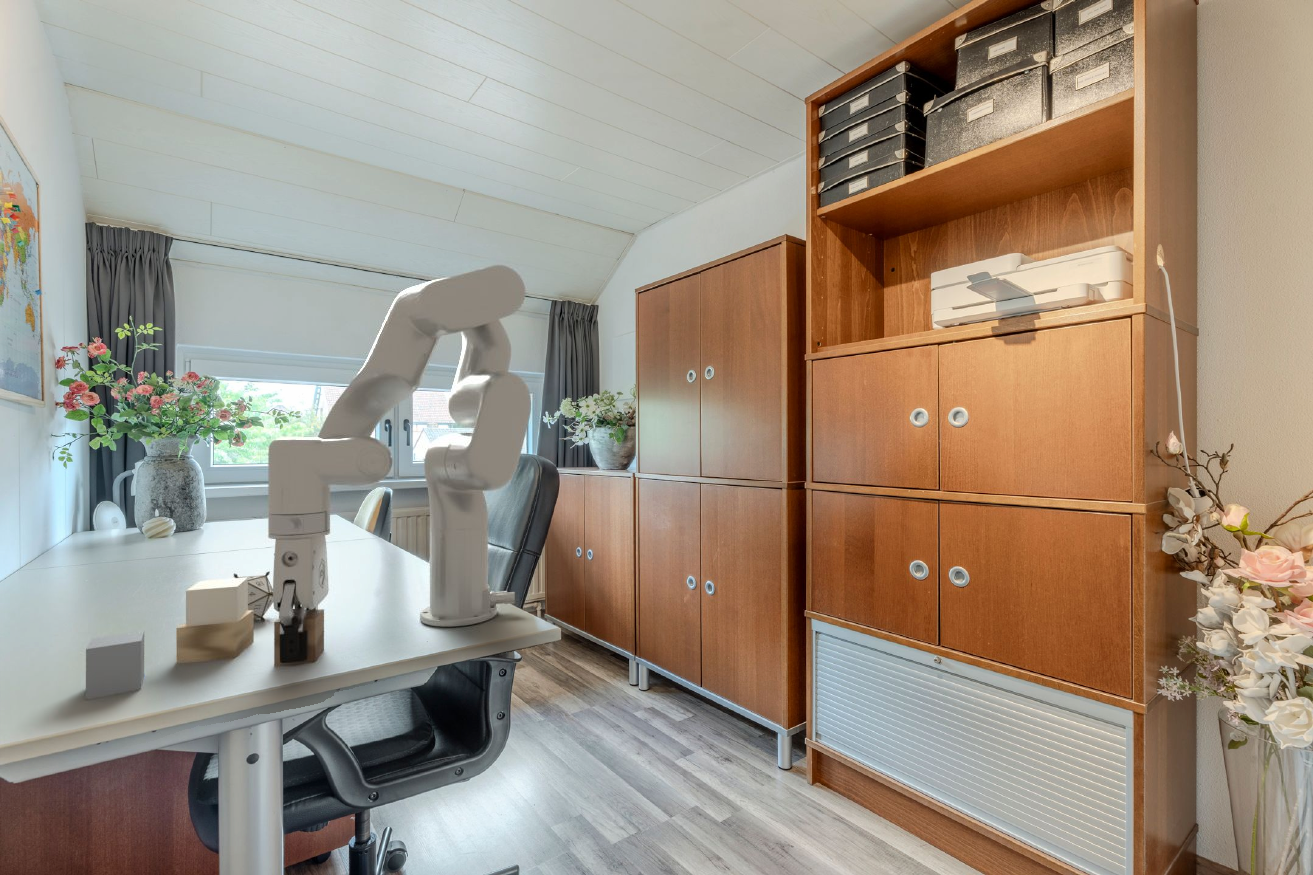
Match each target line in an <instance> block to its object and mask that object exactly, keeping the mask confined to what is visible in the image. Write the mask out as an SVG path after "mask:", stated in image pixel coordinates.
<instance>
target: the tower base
mask: <svg viewBox="0 0 1313 875" xmlns="http://www.w3.org/2000/svg"><path fill="white" fill-rule="evenodd" d="M254 620H255V619H254V610H248V611H247V612H246V613H245V614H244V615H243V616H242V617H241V618H240V620H239V621H238V622H230V623H220V624H209V625H199V626H189V627H186V621H185V622H184V623H182V624H181V625H179V626H177V627H176V635H175V636H176V664H183V663H195V662H206V661H218V660H229V659H236V658H237V657H238V656H240V655H241V654H242V652H243V653H244V652H245V651H246V650H247V649H248V648H249V647H250V646H251V645H253V643H254V640H255V638H254V634H255V632H254V631H255V630H254V624H255V623H254V622H255V621H254Z"/></svg>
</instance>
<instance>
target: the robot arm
mask: <svg viewBox="0 0 1313 875" xmlns="http://www.w3.org/2000/svg"><path fill="white" fill-rule="evenodd" d="M525 298H526V286H525V283H524V281H523V279H522V277H521V275H520V274H518V272H517V271H516V270H514V269H513V268H511V267H509V266H507V265H503V264H501V265H500V264H494V265H491V266H488V267H487V266H486V267H482V268H481V269H476V270H473V271H469V272H466V273H462V274H458V275H453V276H448V277H443V278H439V279H434V280H431V281H428V282H424V283H421V284H419V285H415V286H411V287H408V288H406V289H404V290H403V291H401V292H400V293H399V294H398V295H397V296H396V297H395V299H394V301H393V302H392V304H391V307H390V309H389V310H388V313H387V315H386V316H385V319H384V322H383V323H382V326H381V329H380V330H379V333H378V334H377V337H376V339H375V341H374V343H373V345H372V348H371V350H370V352H369V354H368V357H367V359H366V361H365V362H364V363H363V364H364V365H363V366H362V368H361V369H360V370H359V371H358V373H357V374H356V375H355V376H354V378H353V379H352V380H351V381H350V383H349V385H348V386H347V387H346V388H345V390H344V391H343V392H342V393H341V395H340V396H339V398H337V400H336V401H335V403H334V404H333V406H332V407H331V408H330V411H329V413H328V414H327V416H326V418H325V420H324V421H323V424H322V427H321V428H320V430H319V433H318V436H317V437H308V436H307V437H300V436H299V437H298V436H294V437H290V436H289V437H279V438H275V439H273V440H272V441H271V442H269V443H270V444H269V446H268V452H267V456H268V458H267V459H268V461H267V462H268V463H267V467H268V471H267V474H268V476H267V477H268V478H267V479H268V480H267V483H268V484H267V485H268V486H267V487H268V488H267V493H268V494H267V496H268V497H267V498H268V500H267V502H268V504H267V506H268V508H267V510H268V511H267V512H268V514H267V515H268V517H267V518H268V521H267V522H268V523H267V524H268V526H267V527H268V528H267V529H268V530H267V532H268V534H267V536H268V539H271V540H272V539H273V540H275V544H274V554H273V555H274V556H273V574H272V576H273V577H272V578H273V579H272V588H273V603H272V604H273V609H274V610H275V611H276V612H278V618H279V619H280V662H281V663H290V662H301V661H305V660H306V659H307V631H304V630H305V619H306V610H319V607H318V606H319V605H320V603H321V602H322V601H324V599H325V598H326V597H327V596H328V594H329V591H330V590H329V569H328V568H329V567H328V552H327V551H328V550H327V541H326V536H327V535H330V534H331V486H347V487H348V486H349V487H359V488H361V487H363V488H364V487H368V486H372V485H375V484H378V483H380V482H381V481H383V480H384V479H385V478H386V477H387V476H388V475H389V474H390V472H391V470H392V467H393V455H392V452H391V450H390V449H389V447H388V446H387V445H386V444H385V443H384V442H382V441H381V440H379V439H377V438H375V437H371V436H372V434H373V433H374V431H375V429H376V428H377V426H378V424H379V423H380V422H381V420H382V419H383V418H384V417H385V416H386V415H387V414H388V413H389V412H391V411H392V410H393V409H394V408H395V407H397V406H398V405H400V404H402V402H404V401H406V400H407V399H408V398H409V397H410V396H412V395H413V394H414V392H416V391H417V390H418V388H420V385H421V383H422V380H423V377H424V376H425V374H426V370H427V368H428V365H429V363H430V361H431V360H432V359H431V358H432V356H433V355H434V354H433V353H434V351H435V349H436V347H437V345H438V343H439V340H440V338H441V337H443V336H447V335H452V334H457V333H460V334H461V337H462V348H461V354H460V359H459V364H458V366H457V369H456V373H455V377H454V381H453V384H452V387H451V391H450V394H449V397H448V398H449V400H448V412H449V416H450V417H451V419H452V420H453V421H454V422H455V423H456V424H457V425H460V426H462V427H465V428H471V429H473V431H472V432H454V433H453V432H452V433H448V434H444V435H442V436H440V437H438V438H436V439H435V440H434V441H433V442H432V443H431V444H430V445H429V446H428V448H427V450H426V453H425V457H424V462H423V467H424V476H425V481H426V487H427V491H428V492H427V493H428V498H429V499H428V500H429V502H428V503H429V606H428V607H425V608H424V609H423V610H421V612H420V613H419V620H420V622H421V623H423V624H425V625H427V626H433V627H441V628H442V627H445V628H446V627H447V628H448V627H449V628H450V627H464V626H469V625H475V624H480V623H483V622H486V621H488V620H490V619H493V618H495V616H496V615H497V614H498V606H497V605H501V604H502V605H503V604H504V605H509V604H515V602H516V595H515V594H516V593H515V591H512V592H511V591H510V592H508V591H507V590H501V591H494V590H491V588H490V584H488V583H489V582H488V581H489V577H488V576H489V567H488V566H489V561H488V560H489V556H488V555H489V554H488V553H489V551H488V549H489V548H488V546H489V544H488V543H489V542H488V540H489V538H488V536H489V534H488V533H489V531H488V527H489V526H488V525H489V522H488V521H489V517H488V516H489V515H488V513H489V512H488V506H487V501H486V497H485V494H484V491H485V492H493V491H496V490H500V489H502V488H503V487H506V485H507V484H508V483H510V481H511V479H512V478H513V477H514V475H515V473H516V471H517V468H518V465H519V462H520V457H521V454H522V450H523V446H524V441H525V437H526V434H527V431H528V426H529V422H530V417H531V412H532V397H531V393H530V389H529V387H528V384H526V381H524V379H522V377H520V376H519V375H517V374H516V373H513V372H511V371H509V368H510V364H511V357H512V347H511V346H512V345H511V341H510V338H509V335H508V333H507V331H506V329H505V328H504V325H503V324H502V322H501V319H503V318H507V317H509V316H511V315H514V314H516V313H517V312H518V311H519V310H520V309H521V308H522V305H523V304H524V302H525ZM294 614H299V621H298V618H297V616H293V615H294Z"/></svg>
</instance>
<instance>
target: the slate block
mask: <svg viewBox="0 0 1313 875" xmlns="http://www.w3.org/2000/svg"><path fill="white" fill-rule="evenodd" d="M144 679H145V630H138V631H132V632H127V633H120V634H119V633H118V634H114V635H113V634H112V635H105V636H98V637H92V638H91V640H90V641H89V643H88V645H87V646H86V649H85V701H86V700H92V699H96V698H97V699H98V698H103V697H108V696H112V695H119V694H123V693H128V692H129V693H130V692H134V691H139V690H142V688H143V683H144Z"/></svg>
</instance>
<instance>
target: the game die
mask: <svg viewBox="0 0 1313 875" xmlns="http://www.w3.org/2000/svg"><path fill="white" fill-rule="evenodd" d="M269 575H270V570H269V571H267V572H265V575H251V576H238V574H237V573H233V577H234V579H235V578H248V610H254V620H255V619H260V621H261V622H263V623H265V621H266V619H265V617H264V616H265V614H267V611H268V610H269V609H270V608H271V606H272V605H273V604H274V603H273V585H272V584H271V582H270V580H269V578H268V576H269Z"/></svg>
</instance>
